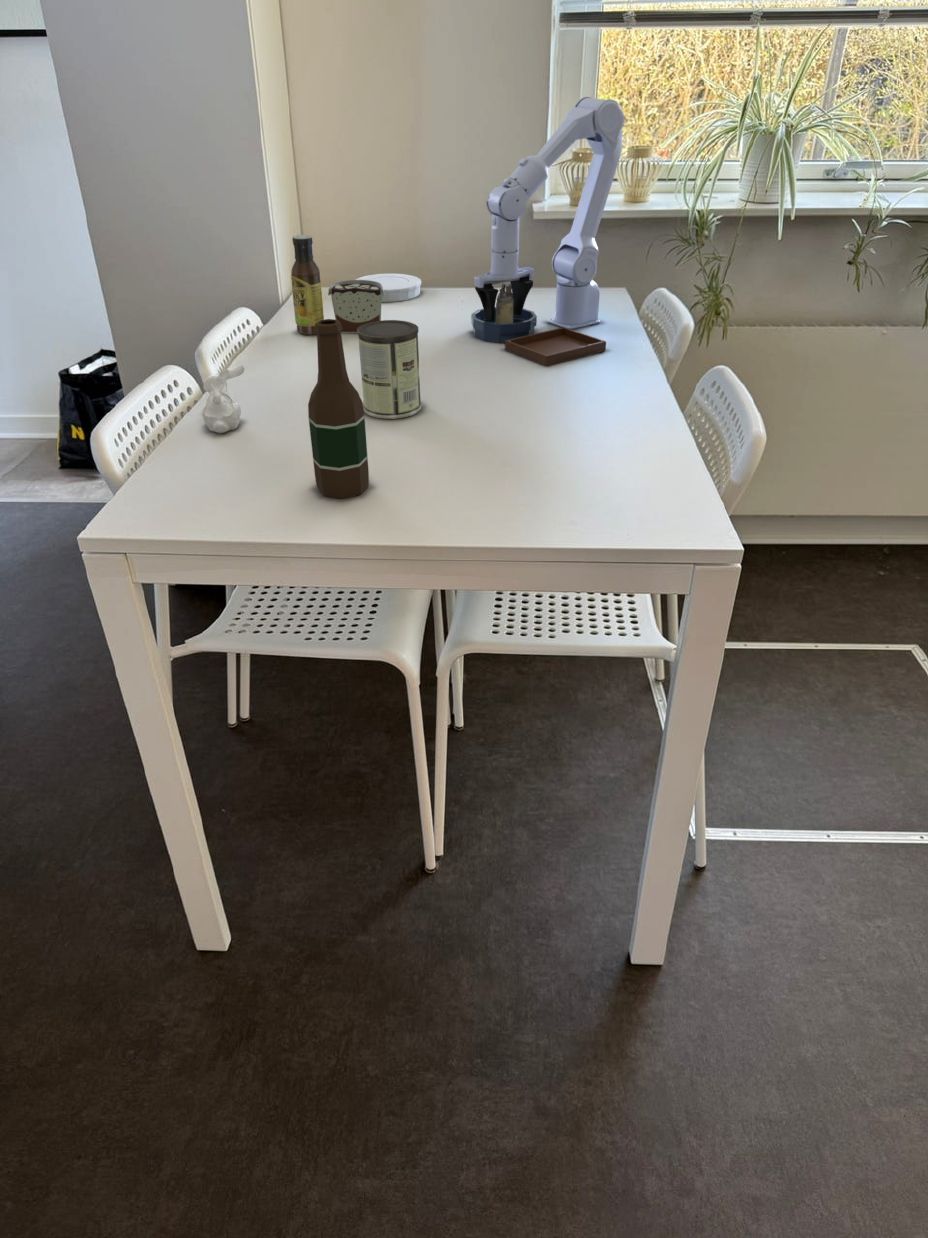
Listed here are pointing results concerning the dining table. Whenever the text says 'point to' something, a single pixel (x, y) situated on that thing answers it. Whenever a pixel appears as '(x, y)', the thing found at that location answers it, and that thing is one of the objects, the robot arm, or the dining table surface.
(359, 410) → the beer bottle
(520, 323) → the bowl
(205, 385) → the rabbit figurine
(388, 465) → the dining table surface
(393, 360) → the coffee can
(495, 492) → the dining table surface
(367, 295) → the food container
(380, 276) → the lid
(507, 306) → the beige tall upright piece
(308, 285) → the sauce bottle
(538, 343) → the tray
